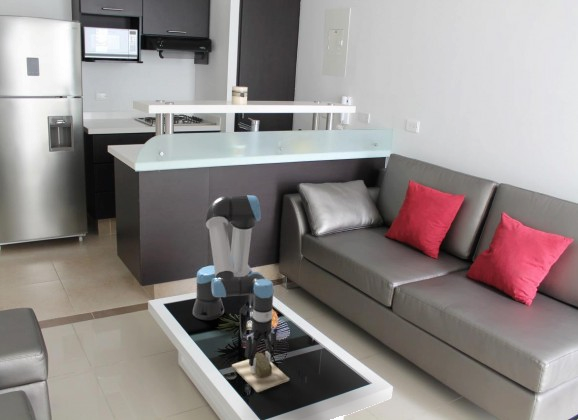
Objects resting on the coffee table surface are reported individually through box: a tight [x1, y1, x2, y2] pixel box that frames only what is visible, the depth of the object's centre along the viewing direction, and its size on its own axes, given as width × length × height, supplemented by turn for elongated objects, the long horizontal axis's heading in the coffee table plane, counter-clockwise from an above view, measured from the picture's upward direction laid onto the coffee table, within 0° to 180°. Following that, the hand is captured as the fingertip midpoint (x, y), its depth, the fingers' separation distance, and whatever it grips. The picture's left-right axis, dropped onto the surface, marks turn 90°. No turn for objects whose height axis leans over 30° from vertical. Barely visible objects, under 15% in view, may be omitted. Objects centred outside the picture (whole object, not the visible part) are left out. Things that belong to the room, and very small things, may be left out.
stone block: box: [254, 352, 272, 377], centre depth 221 cm, size 6×12×5 cm, turn 27°
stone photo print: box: [231, 359, 290, 393], centre depth 222 cm, size 20×15×1 cm
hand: (260, 369), depth 222 cm, fingers closed on stone block, 6 cm apart
